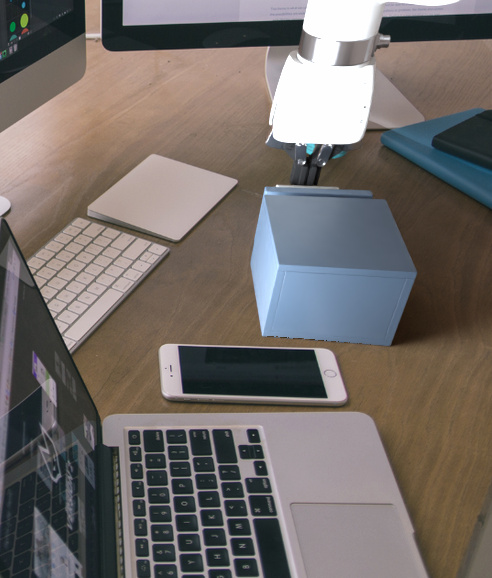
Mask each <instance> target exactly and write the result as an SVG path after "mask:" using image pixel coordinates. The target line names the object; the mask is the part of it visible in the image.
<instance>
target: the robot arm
mask: <svg viewBox="0 0 492 578" xmlns="http://www.w3.org/2000/svg"><path fill="white" fill-rule="evenodd" d="M460 1H462V0H308V1H307V5H306V8H305V9H306V10H305V15H304V19H303V25H302V29H301V34H300V38H299V44H298V48H297V49H293V50H291V51H290V52H289V54H288V56H287V58H286V61H285V62H284V65H283V68H282V71H281V74H280V77H279V80H278V83H277V87H276V89H275V90H276V91H275V94H274V97H273V101H272V105H271V109H270V114H269V126H270V127H269V129H268V131H267V133H266V135H265V137H264V141H265V145H266V147H268V148H273V149H277V150H282V151H284V152H285V153H286V154H287V155H288V156H289V157H290V158H291V159H292V160H293V161H292V167H291V171H290V174H289V175H290V176H289V185H300V186H318V184H319V180H320V176H321V172H322V168H323V167H325V166H326V165H328V161H330V160H331V159H334V158H333V157H334V156H336V155H338V154H339V153H341V152H342V151H344V152H346V151H348V152H352V151H357V150H361V149H362V147H363V138H364V137H365V134H366V132H367V129H368V125H369V121H370V116H371V112H372V106H373V100H374V93H375V88H376V87H375V86H376V77H377V59H376V55H374V54H375V53H376V52H377V50H381V49H388V48H389V46H390V44H391V35H390V34H383V33H380V32H379V30H380V26H381V23H382V19H383V15H384V13H385V8H386V4H387V3H388V2H392V3H403V4H411V5H417V6H430V7H435V6H436V7H437V6H445V5H451V4H455V3H458V2H460ZM307 143H314V144H316V145H315V148H314V150H313V153H311V155H310V154H308V156H307V152H306V151H307Z"/></svg>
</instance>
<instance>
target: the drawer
mask: <svg viewBox="0 0 492 578" xmlns="http://www.w3.org/2000/svg"><path fill="white" fill-rule="evenodd" d="M264 195H287V196H312V197H337V198H361V199H374V195H373V192H372V190H369V189H367V190H366V189H365V190H364V189H344V188H343V189H342V188H341V189H340V188H339V186H323V185H322V186H321V185H317V186H300V185H291V184H276V185H275V186H264V190H263V195H262V200H261V205H260V209H259V210H260V211H259V215H258V220H257V225H256V228H255V229H256V230H255V235H254V239H253V243H254V242H255V237H256V232H257V227H258V222H259V217H260V212H261V207H262V202H263V198H264Z"/></svg>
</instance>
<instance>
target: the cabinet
mask: <svg viewBox="0 0 492 578" xmlns="http://www.w3.org/2000/svg"><path fill="white" fill-rule="evenodd" d="M263 195H264V194H263ZM262 199H263V202H262V201H261V204H262V207H261V206H260V209H261V212H260V211H259V214H260V217H259V216H258V219H259V222H258V221H257V224H258V227H257V226H256V229H257V232H256V231H255V234H256V237H255V236H254V239H255V242H254V241H253V247H252V252H251V257H250V262H249V263H250V270H251V276H252V282H253V288H254V294H255V300H256V301H255V302H256V308H257V313H258V319H259V325H260V332H261V336H262V337H267V336H274V337H273V338H280V337H287V338H286V339H292V340H293V338H304V339H303V340H305V339H315V340H314V341H318V340H324V341H323V342H331V341H336V342H335V343H344V342H348V343H347V344H357V343H358V344H359V343H362V344H361V345H370V344H371V346H384V347H385V346H386V347H391V345H392V342H393V341H394V337H395V334H396V332H397V329H398V326H399V324H400V321H401V319H402V315H403V313H404V310H405V307H406V305H407V302H408V299H409V297H410V294H411V291H412V289H413V287H414V283H415V280H416V278H417V275H418V271H417V268H416V266H415V264H414V262H413V260H412V257H411V255H410V251H409V250H408V247H407V246H406V243H405V241H404V239H403V235H402V233H401V232H400V228H399V227H398V225H397V222H396V220H395V217H394V215H393V212H392V211H391V208H390V206H389V203H388V201H387V199H384V198H372V199H361V198H337V197H312V196H287V195H264V198H263V197H262ZM276 336H278V337H276ZM288 337H289V338H288ZM267 338H268V337H267ZM280 339H281V338H280ZM326 340H327V341H326ZM338 341H339V342H338ZM349 342H350V343H349ZM358 344H357V345H358ZM359 345H360V344H359Z"/></svg>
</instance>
